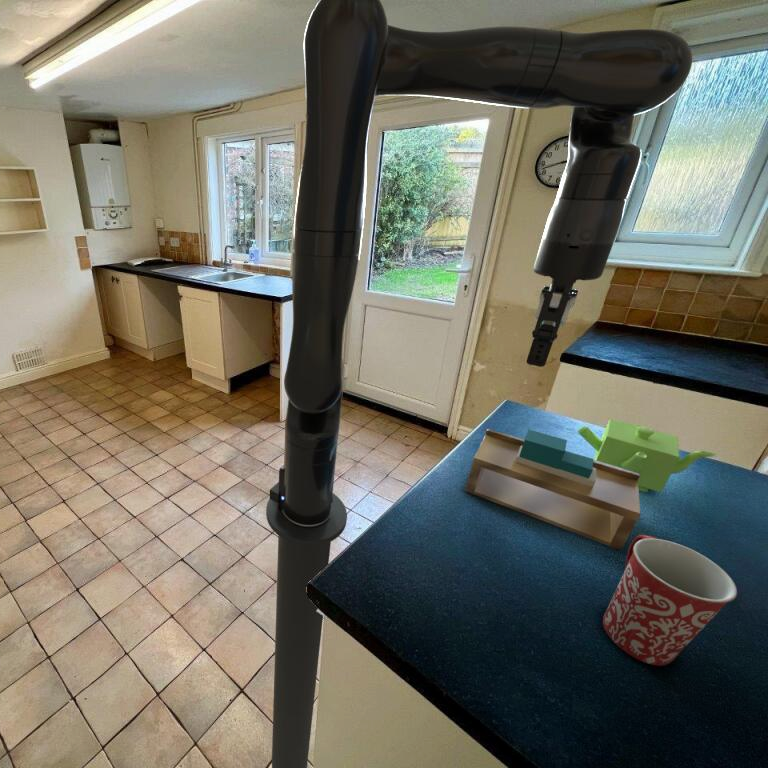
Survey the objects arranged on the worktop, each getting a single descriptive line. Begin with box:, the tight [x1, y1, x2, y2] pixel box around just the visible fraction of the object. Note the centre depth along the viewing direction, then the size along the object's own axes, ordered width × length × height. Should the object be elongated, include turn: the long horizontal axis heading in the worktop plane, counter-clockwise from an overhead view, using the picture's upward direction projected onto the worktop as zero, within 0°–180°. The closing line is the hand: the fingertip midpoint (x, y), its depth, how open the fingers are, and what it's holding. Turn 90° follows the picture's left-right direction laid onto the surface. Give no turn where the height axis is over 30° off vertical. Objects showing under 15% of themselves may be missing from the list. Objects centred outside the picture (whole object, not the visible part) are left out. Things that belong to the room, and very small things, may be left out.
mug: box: [602, 534, 738, 666], centre depth 53 cm, size 13×9×14 cm
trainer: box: [515, 429, 596, 487], centre depth 74 cm, size 12×5×5 cm, turn 52°
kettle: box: [577, 418, 718, 493], centre depth 83 cm, size 15×14×11 cm
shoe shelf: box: [464, 428, 641, 551], centre depth 76 cm, size 24×11×9 cm, turn 52°
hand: (538, 355), depth 60 cm, fingers open, 8 cm apart
